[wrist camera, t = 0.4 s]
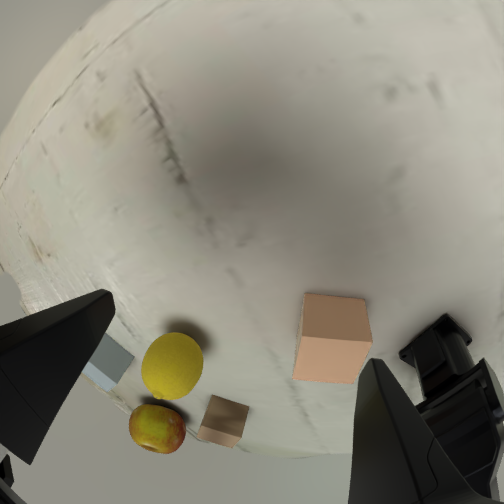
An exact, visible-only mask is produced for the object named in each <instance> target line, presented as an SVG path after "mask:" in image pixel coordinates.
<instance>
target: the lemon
mask: <svg viewBox="0 0 504 504" xmlns="http://www.w3.org/2000/svg"><path fill="white" fill-rule="evenodd" d="M202 370H203V355H202V351H201V349H200V347H199V345H198V344H197V343H196V342H195V340H193V339H192V338H191V337H189V336H187V335H185V334H182V333H173V332H172V333H167V334H164V335H162V336H160V337H159V338H157V339H156V340H155V341H154V342H153V343H152V344H151V345H150V347H149V348H148V350H147V352H146V354H145V356H144V359H143V362H142V369H141V374H142V379H143V381H144V384H145V386H146V387H147V388H148V390H149V391H150V392H151V393H152V394H153V396H154V397H155V398H157V399H166V400H174V399H179V398H182V397H183V396H185V395H187V394H188V393H189V392H190V391H191V390H192V389H193V388H194V386H195V385H196V383H197V382H198V380H199V378H200V376H201V374H202Z"/></svg>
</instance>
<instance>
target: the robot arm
mask: <svg viewBox="0 0 504 504" xmlns="http://www.w3.org/2000/svg"><path fill="white" fill-rule="evenodd" d="M115 310H116V309H115V304H114V299H113V295H112V293H111V292H110V291H107V290H105V289H99V290H97V291H94V292H91V293H88V294H86V295H83V296H80V297H77V298H75V299H72V300H69V301H66V302H64V303H61V304H58V305H56V306H53V307H50V308H48V309H45V310H42V311H40V312H37V313H34V314H32V315H29V316H26V317H24V318H23V319H22V318H21V319H18V320H16V321H13V322H11V323H8V324H5V325H2V326H0V504H26V503H25V502H24V501H23V500H22V499H21V498H20V497H19V496H18V495H17V494H16V493H15V492H14V491H13V490H12V489H11V486H12V484H13V482H14V478H13V473H12V468H11V463H10V457H9V455H8V454H7V452H8V451H11V452H12V453H13V454H14V455H16V456H17V457H19V458H20V459H21V460H23V461H24V462H26V463H27V464H29V465H31V463H32V462H33V459H34V457H35V455H36V453H37V451H38V449H39V447H40V445H41V443H42V441H43V439H44V437H45V435H46V433H47V432H48V430H49V427H50V426H51V424H52V422H53V420H54V418H55V417H56V415H57V413H58V411H59V409H60V407H61V406H62V404H63V402H64V401H65V399H66V397H67V395H68V394H69V392H70V390H71V388H72V387H73V385H74V384H75V382H76V380H77V379H78V377H79V376H80V374H81V372H82V371H83V369H84V368H85V366H86V364H87V363H88V361H89V360H90V358H91V357H92V355H93V353H94V352H95V350H96V349H97V347H98V345H99V343H100V342H101V340H102V338H103V336H104V334H105V332H106V330H107V328H108V326H109V325H110V323H111V321H112V319H113V317H114V315H115ZM471 342H472V338H471V336H470V335H469V334H468V333H467V332H466V331H465V330H464V329H463V328H462V327H461V326H460V325H459V324H458V323H457V322H456V321H455V320H454V319H453V318H452V317H451V316H449V315H448V314H446V315H444V316H442V317H441V318H440V319H439V320H438V321H437V322H436V323H435V324H434V325H432V326H431V327H430V328H429V329H428V330H427V331H426V332H424V333H423V334H422V335H421V336H420V337H418V338H417V339H416V340H415V341H414V342H412V343H411V344H410V345H409V346H407V347H406V348H405V349H404V350H402V351H401V352H400V353H399V357H400V359H401V360H403V361H404V362H406V363H408V364H409V365H411V366H413V367H414V368H416V371H417V374H418V378H419V382H420V386H421V391H422V395H423V399H424V401H423V402H421V403H419V404H418V405H416V406H414V404H413V403H412V401H411V400H410V398H409V397H408V396H407V394H406V393H405V391H404V390H403V388H402V387H401V385H400V384H399V382H398V381H397V380H396V378H395V377H394V375H393V374H392V372H391V371H390V370H389V368H388V367H387V365H386V364H385V362H384V361H383V360H382V359H376V358H371V359H369V361H368V362H367V364H366V365H365V367H364V369H363V370H362V372H361V373H360V376H359V381H358V390H357V399H356V407H355V415H354V432H353V454H352V468H351V480H350V490H349V499H348V504H504V502H500V499H499V490H498V484H497V477H496V475H497V472H498V469H499V466H500V463H501V459H502V456H503V453H504V425H503V421H504V394H503V390H502V388H501V385H500V383H499V381H498V379H497V376H496V374H495V372H494V371H493V370H492V368H491V367H490V365H489V364H488V363H487V361H486V360H485V359H484V358H482V359H481V360H480V361H479V363H478V364H476V365H475V364H474V362H473V360H472V357H471V355H470V353H469V350H468V348H467V346H468V345H469V344H470V343H471Z"/></svg>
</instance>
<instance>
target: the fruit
mask: <svg viewBox="0 0 504 504" xmlns="http://www.w3.org/2000/svg"><path fill="white" fill-rule="evenodd" d="M129 431H130V435H131V437H132V439H133V440H134V441H135V442H136V443H137V444H138V445H139V446H141V447H143V448H145V449H147V450H149V451H153V452H157V453H163V454H169V453H172V452H174V451H176V450H177V449H178V448H179V447H180V446H181V444H182V443H183V441H184V438H185V434H186V426H185V423H184V421H183V419H182V418H181V416H180V415H179V414H178V413H177V412H175V411H173V410H171V409H168V408H166V407H162V406H158V405H150V404H145V405H141V406H139V407H137V408H136V409H135V410H134V411H133V412H132V414H131V417H130V420H129Z"/></svg>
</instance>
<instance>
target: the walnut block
mask: <svg viewBox="0 0 504 504" xmlns="http://www.w3.org/2000/svg"><path fill="white" fill-rule="evenodd" d="M248 410H249V406H246V405H243V404H239V403H236V402H233V401H230V400H227V399H224V398H221V397H218V396H215V395H212V397H211V400H210V402H209V404H208V407H207V409H206V412H205V415H204V418H203V420H202V423H201V426H200V429H199V432H198V434H197V437H198V438H201V439H204V440H207V441H210V442H213V443H216V444H219V445H222V446H226V447H229V448H233V447H234V446H235V444H236V443H237V442H238V441H239V440H240V439H241V437H242V433H243V430H244V426H245V422H246V418H247V414H248Z"/></svg>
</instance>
